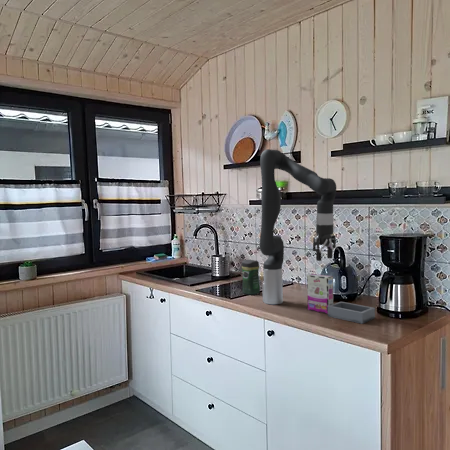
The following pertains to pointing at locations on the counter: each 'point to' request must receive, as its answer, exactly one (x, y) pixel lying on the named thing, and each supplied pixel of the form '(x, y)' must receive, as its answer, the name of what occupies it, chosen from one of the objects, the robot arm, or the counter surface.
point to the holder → (351, 312)
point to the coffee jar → (250, 277)
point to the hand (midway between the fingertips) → (324, 259)
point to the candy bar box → (319, 292)
